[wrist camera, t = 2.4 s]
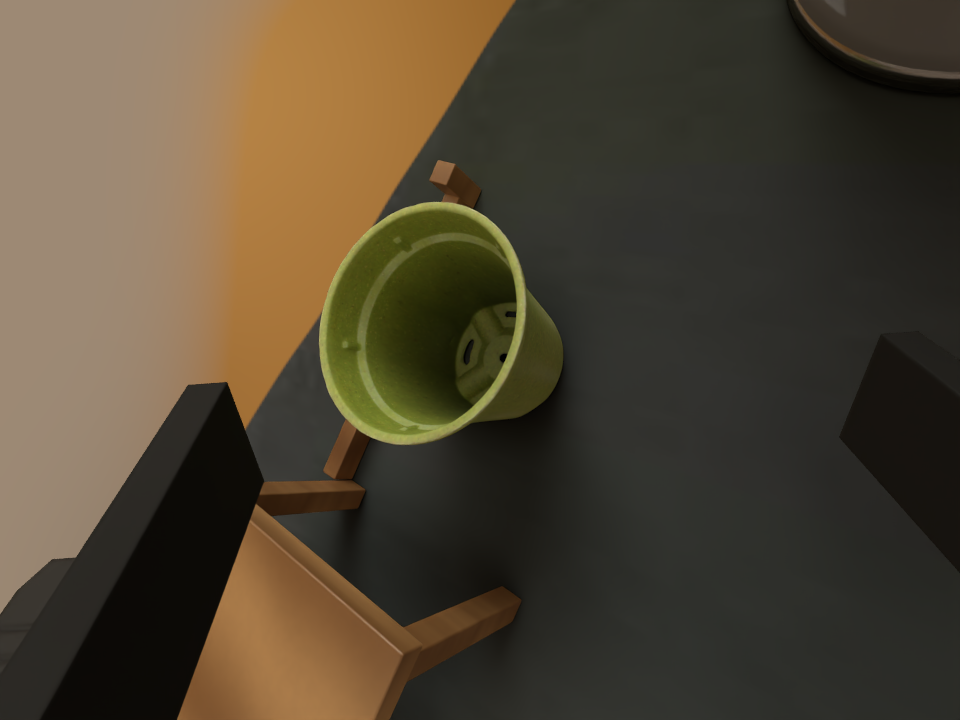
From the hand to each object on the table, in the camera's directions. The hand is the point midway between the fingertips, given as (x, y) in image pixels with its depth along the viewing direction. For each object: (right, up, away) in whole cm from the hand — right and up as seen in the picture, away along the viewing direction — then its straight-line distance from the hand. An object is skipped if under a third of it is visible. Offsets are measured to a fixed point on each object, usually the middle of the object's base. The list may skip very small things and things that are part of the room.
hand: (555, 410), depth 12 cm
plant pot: (0, +1, +17) cm, 17 cm away
